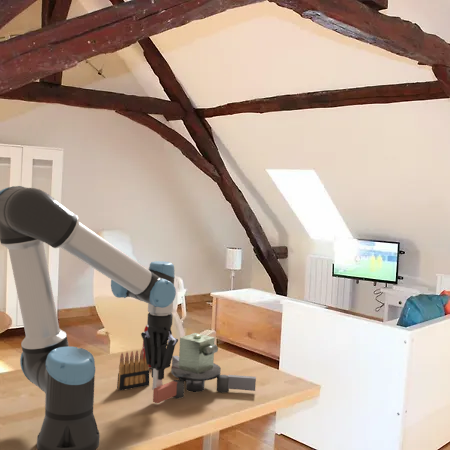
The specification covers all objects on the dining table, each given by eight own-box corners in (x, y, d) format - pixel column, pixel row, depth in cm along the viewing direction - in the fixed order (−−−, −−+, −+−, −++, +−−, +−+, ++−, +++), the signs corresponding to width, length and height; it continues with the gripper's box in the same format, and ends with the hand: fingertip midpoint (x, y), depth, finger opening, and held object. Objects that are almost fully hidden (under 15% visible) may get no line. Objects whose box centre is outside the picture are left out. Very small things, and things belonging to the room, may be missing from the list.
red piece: (176, 392, 182) (177, 377, 181) (186, 395, 179) (187, 380, 179) (150, 404, 171) (150, 387, 171) (160, 407, 169) (160, 391, 169)
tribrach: (199, 402, 175) (202, 345, 174) (160, 389, 184) (162, 335, 183) (229, 388, 188) (231, 335, 187) (190, 377, 197) (193, 326, 196)
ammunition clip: (119, 390, 181) (120, 353, 181) (116, 389, 183) (118, 352, 182) (149, 385, 188) (150, 349, 187) (146, 383, 189) (148, 347, 188)
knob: (215, 392, 184) (216, 376, 183) (217, 387, 188) (217, 372, 187) (254, 395, 183) (255, 379, 182) (255, 390, 187) (256, 375, 186)
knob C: (192, 380, 193) (193, 366, 193) (181, 381, 192) (182, 367, 191) (179, 368, 205) (180, 355, 204) (168, 370, 203) (169, 356, 202)
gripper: (184, 314, 173) (181, 390, 174) (152, 307, 180) (149, 380, 182) (168, 318, 166) (165, 397, 168) (135, 311, 174) (132, 387, 175)
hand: (157, 388), depth 175 cm, fingers closed
